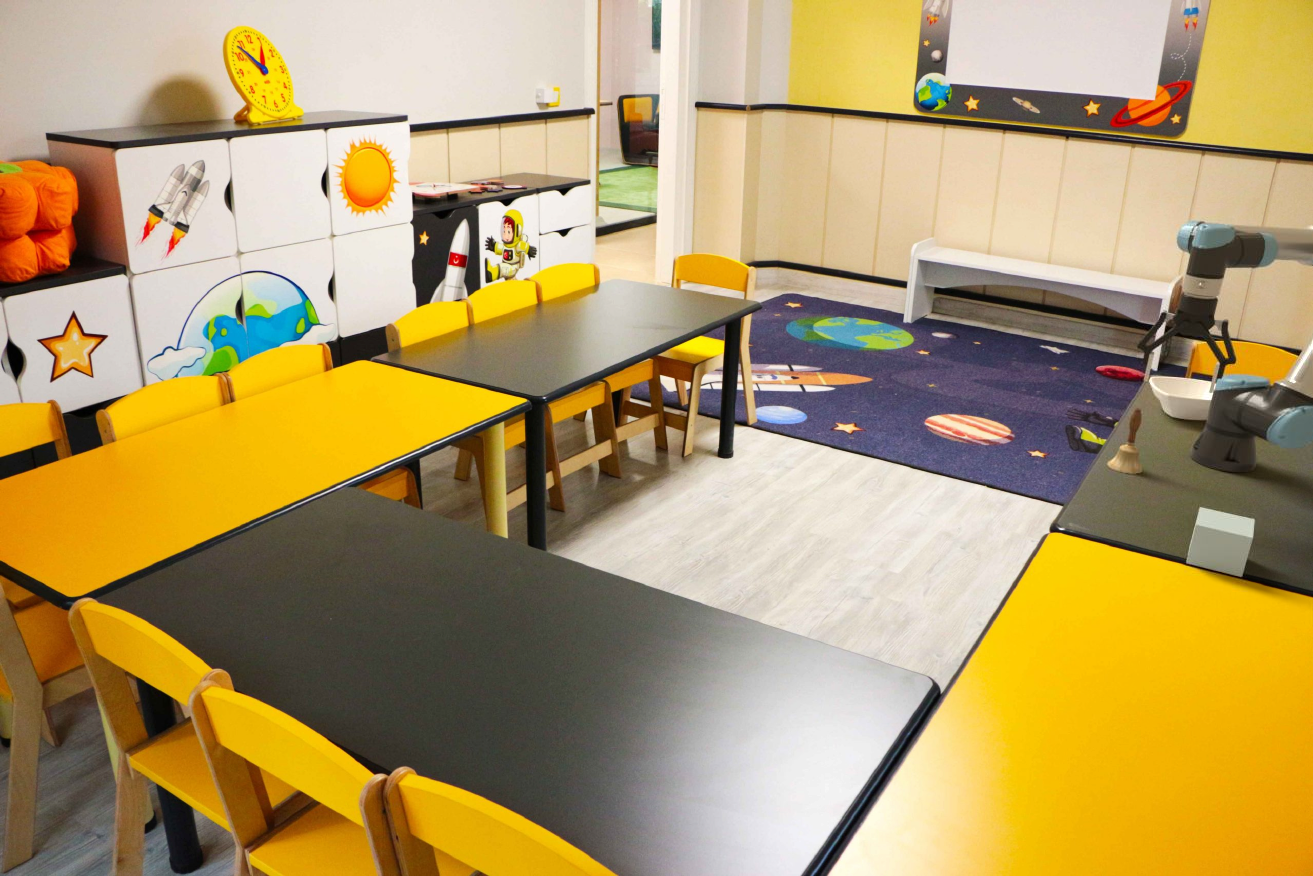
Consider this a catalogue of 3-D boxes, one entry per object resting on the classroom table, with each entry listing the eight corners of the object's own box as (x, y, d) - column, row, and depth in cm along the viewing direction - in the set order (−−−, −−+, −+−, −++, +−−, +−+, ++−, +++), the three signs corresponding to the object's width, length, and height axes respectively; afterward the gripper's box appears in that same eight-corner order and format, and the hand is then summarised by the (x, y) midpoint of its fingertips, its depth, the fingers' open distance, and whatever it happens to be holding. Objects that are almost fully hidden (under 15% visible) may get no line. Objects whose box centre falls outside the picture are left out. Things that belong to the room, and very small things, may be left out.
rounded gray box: (1190, 544, 217) (1199, 507, 214) (1243, 557, 213) (1254, 519, 210) (1186, 563, 209) (1196, 524, 206) (1241, 577, 204) (1253, 537, 201)
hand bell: (1146, 476, 252) (1160, 415, 247) (1110, 472, 254) (1124, 412, 248) (1138, 463, 260) (1152, 404, 254) (1104, 459, 261) (1116, 401, 256)
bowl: (1156, 424, 288) (1163, 396, 285) (1136, 401, 307) (1142, 374, 304) (1233, 431, 286) (1241, 402, 282) (1209, 407, 305) (1216, 380, 301)
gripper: (1137, 289, 228) (1117, 379, 236) (1263, 306, 217) (1238, 400, 225) (1141, 283, 234) (1122, 371, 242) (1264, 300, 223) (1240, 392, 231)
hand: (1178, 385), depth 233 cm, fingers open, 13 cm apart
